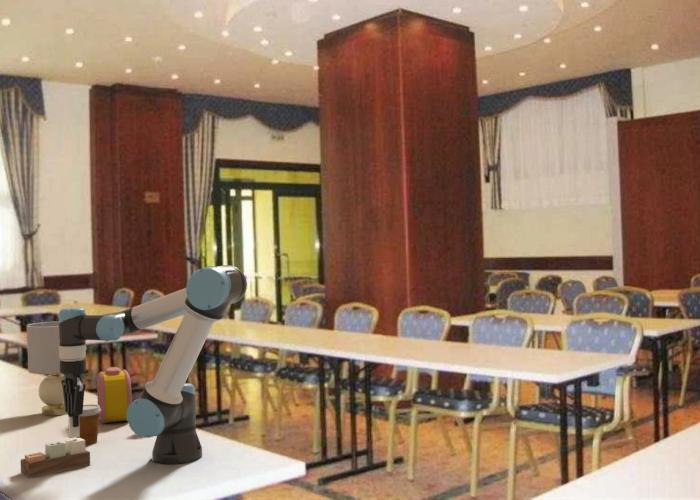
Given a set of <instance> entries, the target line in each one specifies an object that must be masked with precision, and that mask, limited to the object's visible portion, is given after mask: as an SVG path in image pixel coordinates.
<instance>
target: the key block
mask: <svg viewBox="0 0 700 500" xmlns="http://www.w3.org/2000/svg"><path fill="white" fill-rule="evenodd" d="M88 466H91V453H90V451H88V450H87V449H86V452H83V453H78V454H73V455H69V454H67V453H66V456H63V457H58V458H53V459H49V458H47V457H46V454H45V460H43V461H38V462H33V463H28V462H26V461H25V458H21V459H20V474H22V473H23V474H24V476H25V477H26V478H29V479H31V478H36V477H43V476H46V475H51V474H54V473H56V474H57V473H59V472H63V471H65V472H66V471H69V470H74V469H79V468H85V467H88ZM23 474H22V475H23Z"/></svg>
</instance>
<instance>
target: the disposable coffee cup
mask: <svg viewBox="0 0 700 500" xmlns="http://www.w3.org/2000/svg"><path fill="white" fill-rule="evenodd" d="M100 411H101V409H100V406H99V405H98V404H93V403H91V404H83V413H82V414H81V415H79V432H80V437H75V438H82V439H84V440H85V446H90V445H93V444H96V443H97V442H98V435H99V434H98V433H99V425H100V417H99V416H100Z"/></svg>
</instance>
